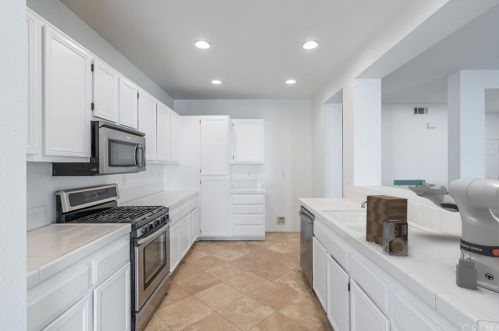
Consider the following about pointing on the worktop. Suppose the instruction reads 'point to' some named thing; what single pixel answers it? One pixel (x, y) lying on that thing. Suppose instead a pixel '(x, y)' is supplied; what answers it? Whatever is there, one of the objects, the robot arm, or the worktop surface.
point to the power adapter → (466, 273)
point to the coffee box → (395, 237)
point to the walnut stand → (383, 214)
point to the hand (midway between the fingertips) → (418, 181)
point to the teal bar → (407, 182)
